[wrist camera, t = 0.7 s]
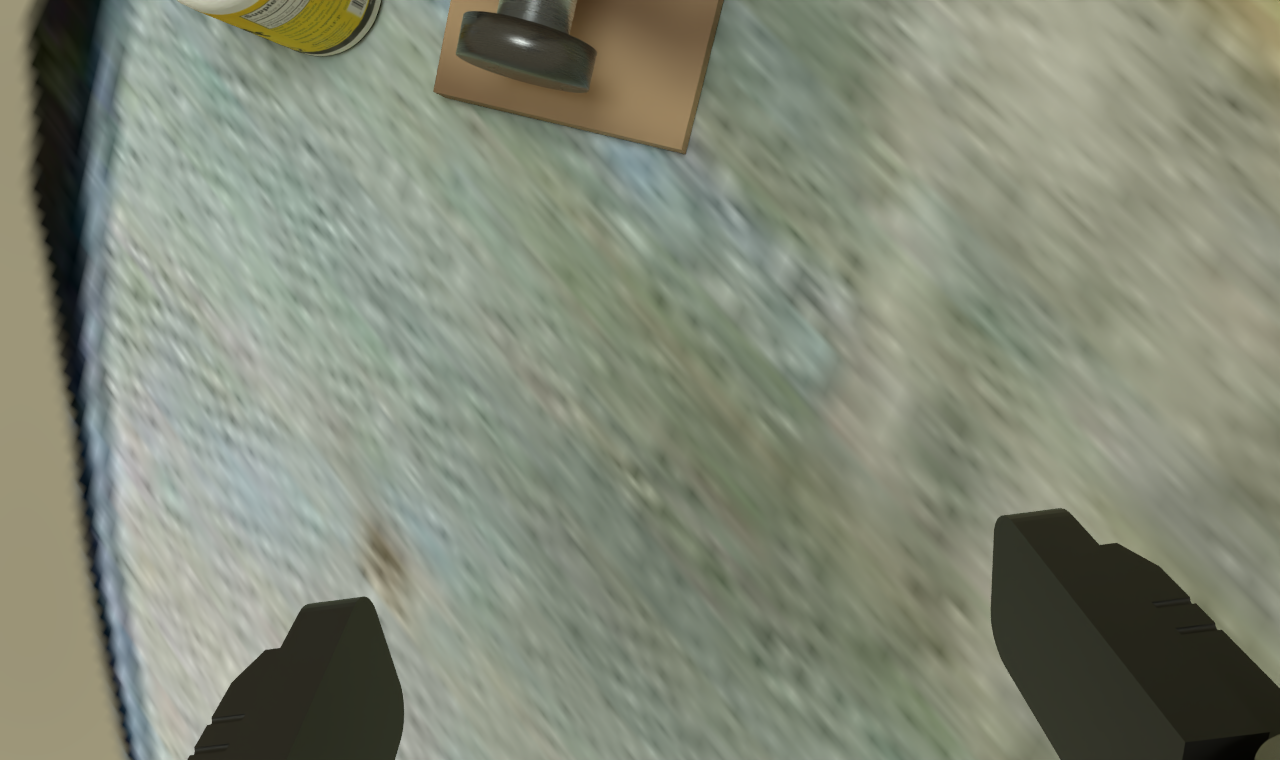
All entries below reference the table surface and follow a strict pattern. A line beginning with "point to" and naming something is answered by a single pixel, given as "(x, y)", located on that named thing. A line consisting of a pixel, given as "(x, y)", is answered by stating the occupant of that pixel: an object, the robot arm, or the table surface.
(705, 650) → the table surface
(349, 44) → the supplement bottle
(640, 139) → the shaft bench
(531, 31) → the shaft
